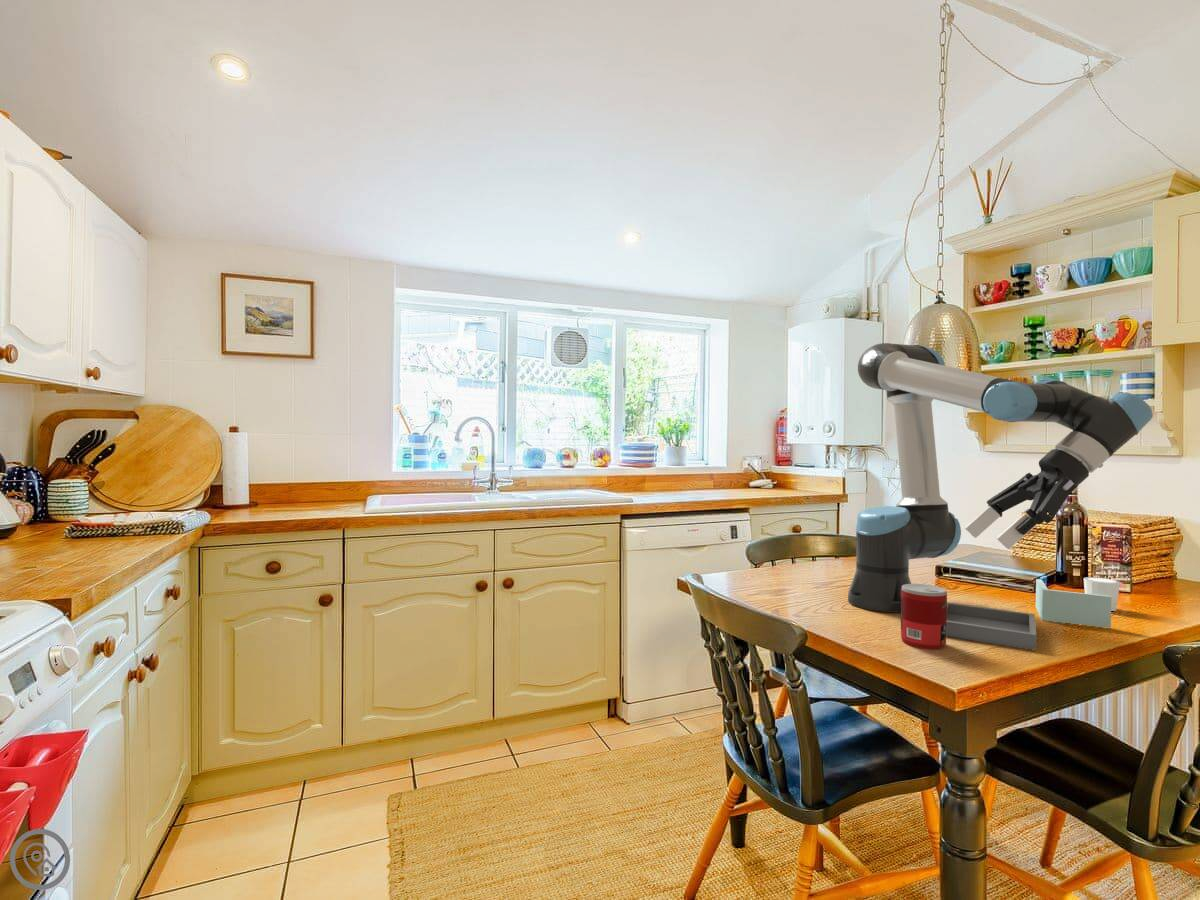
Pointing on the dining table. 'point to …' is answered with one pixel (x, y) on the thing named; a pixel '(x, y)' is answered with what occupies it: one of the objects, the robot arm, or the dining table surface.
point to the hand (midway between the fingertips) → (985, 538)
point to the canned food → (923, 616)
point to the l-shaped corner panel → (1073, 606)
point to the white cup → (1103, 588)
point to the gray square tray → (991, 625)
